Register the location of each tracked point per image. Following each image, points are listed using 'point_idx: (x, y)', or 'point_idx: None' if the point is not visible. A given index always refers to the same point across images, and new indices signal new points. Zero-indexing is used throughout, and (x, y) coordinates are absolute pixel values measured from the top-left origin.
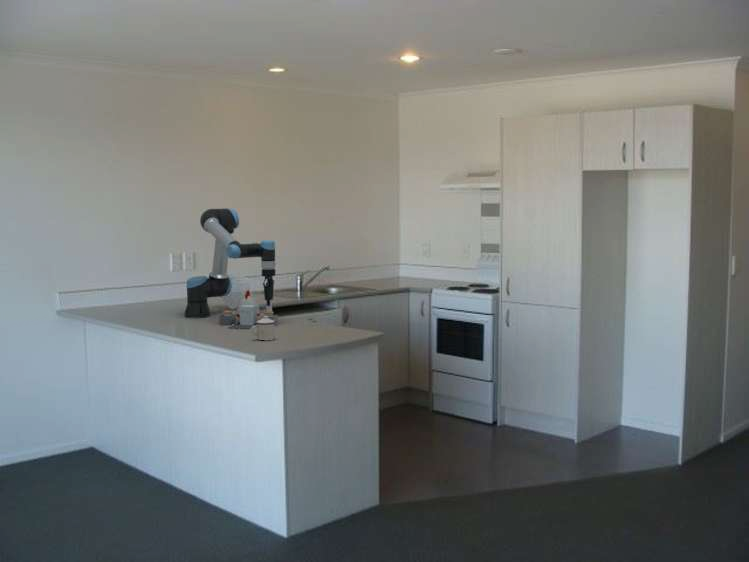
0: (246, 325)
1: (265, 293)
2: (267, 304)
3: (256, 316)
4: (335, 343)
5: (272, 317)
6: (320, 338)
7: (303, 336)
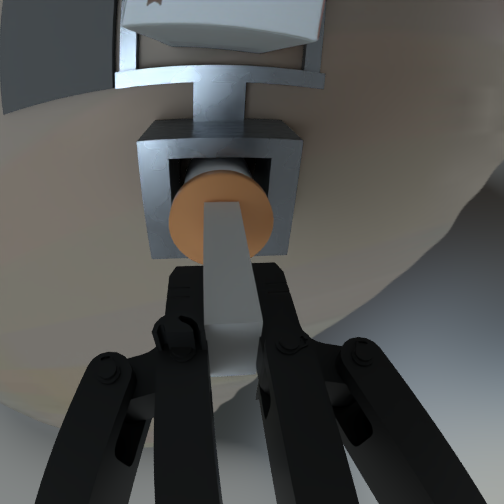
0: (102, 19)
1: (59, 472)
2: (168, 290)
3: (258, 49)
4: (11, 407)
5: (151, 251)
6: (26, 394)
7: (16, 368)
